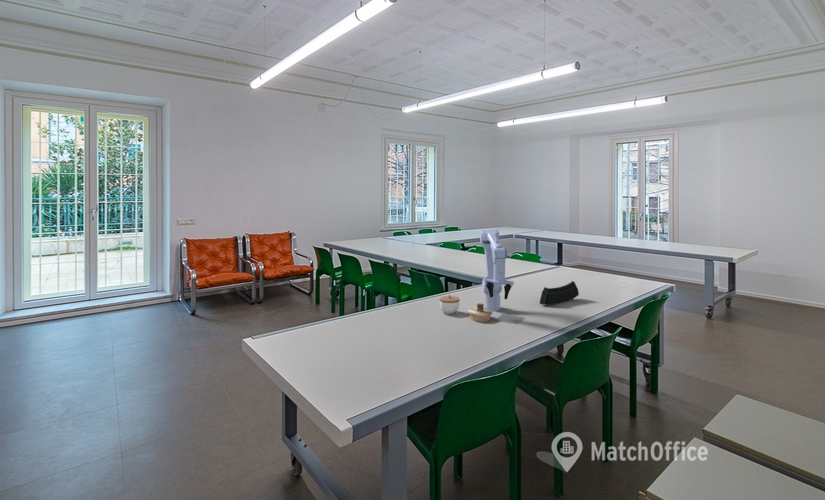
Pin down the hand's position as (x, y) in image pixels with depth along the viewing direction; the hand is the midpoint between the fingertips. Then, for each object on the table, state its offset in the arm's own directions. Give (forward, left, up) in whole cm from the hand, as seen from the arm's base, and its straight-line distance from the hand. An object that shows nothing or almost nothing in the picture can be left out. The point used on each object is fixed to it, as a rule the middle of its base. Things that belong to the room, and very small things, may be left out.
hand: (498, 298), depth 217 cm
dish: (+7, -7, -10) cm, 14 cm away
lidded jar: (+4, -26, -11) cm, 28 cm away
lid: (+7, -7, -7) cm, 12 cm away
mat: (0, +6, -10) cm, 12 cm away
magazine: (-48, +19, -11) cm, 52 cm away
